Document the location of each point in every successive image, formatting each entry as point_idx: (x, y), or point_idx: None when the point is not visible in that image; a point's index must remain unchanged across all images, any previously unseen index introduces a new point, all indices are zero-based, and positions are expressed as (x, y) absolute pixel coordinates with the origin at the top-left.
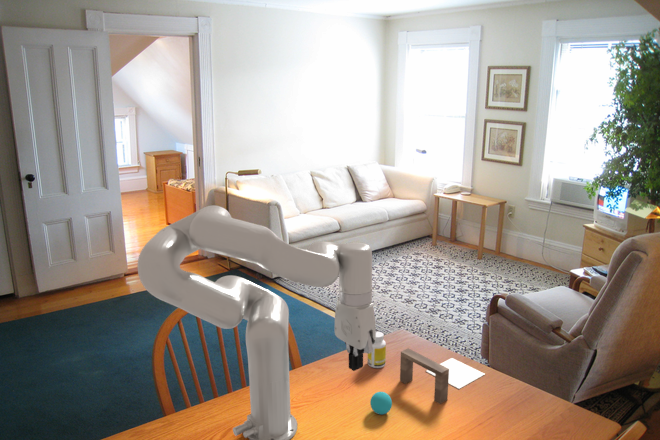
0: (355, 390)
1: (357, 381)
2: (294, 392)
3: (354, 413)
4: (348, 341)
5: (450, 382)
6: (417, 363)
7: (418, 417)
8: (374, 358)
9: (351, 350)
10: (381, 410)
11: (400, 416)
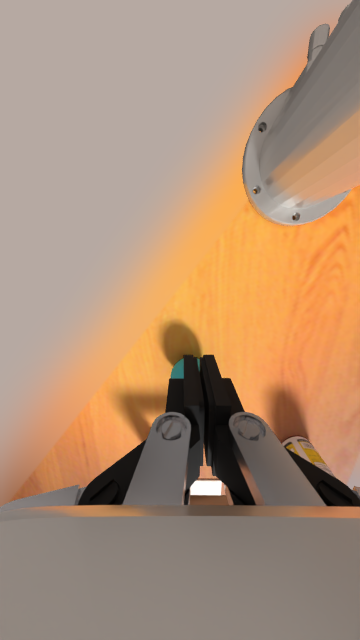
0: (266, 375)
1: (283, 394)
2: (354, 286)
3: (218, 332)
4: (203, 596)
5: None
6: (199, 497)
7: (143, 398)
8: (299, 455)
9: (228, 440)
10: (175, 364)
11: (162, 381)
